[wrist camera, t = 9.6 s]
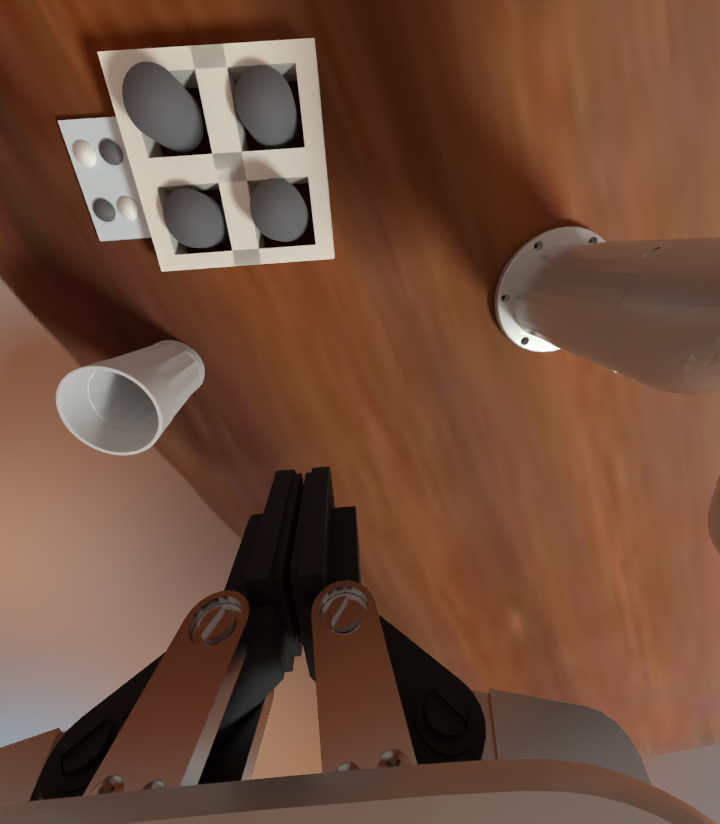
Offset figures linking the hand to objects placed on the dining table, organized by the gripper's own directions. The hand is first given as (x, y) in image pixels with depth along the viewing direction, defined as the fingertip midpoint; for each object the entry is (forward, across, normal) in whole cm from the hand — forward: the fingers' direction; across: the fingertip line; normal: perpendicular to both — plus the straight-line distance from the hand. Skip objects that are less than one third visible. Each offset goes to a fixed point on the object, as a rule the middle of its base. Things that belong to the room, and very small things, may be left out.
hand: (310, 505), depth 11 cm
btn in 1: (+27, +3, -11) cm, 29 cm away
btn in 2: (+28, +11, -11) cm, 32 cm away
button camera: (+27, +11, -18) cm, 34 cm away
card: (+29, +19, -14) cm, 37 cm away
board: (+29, +7, -14) cm, 33 cm away
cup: (+29, +18, +3) cm, 35 cm away
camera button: (+28, +3, -18) cm, 34 cm away
